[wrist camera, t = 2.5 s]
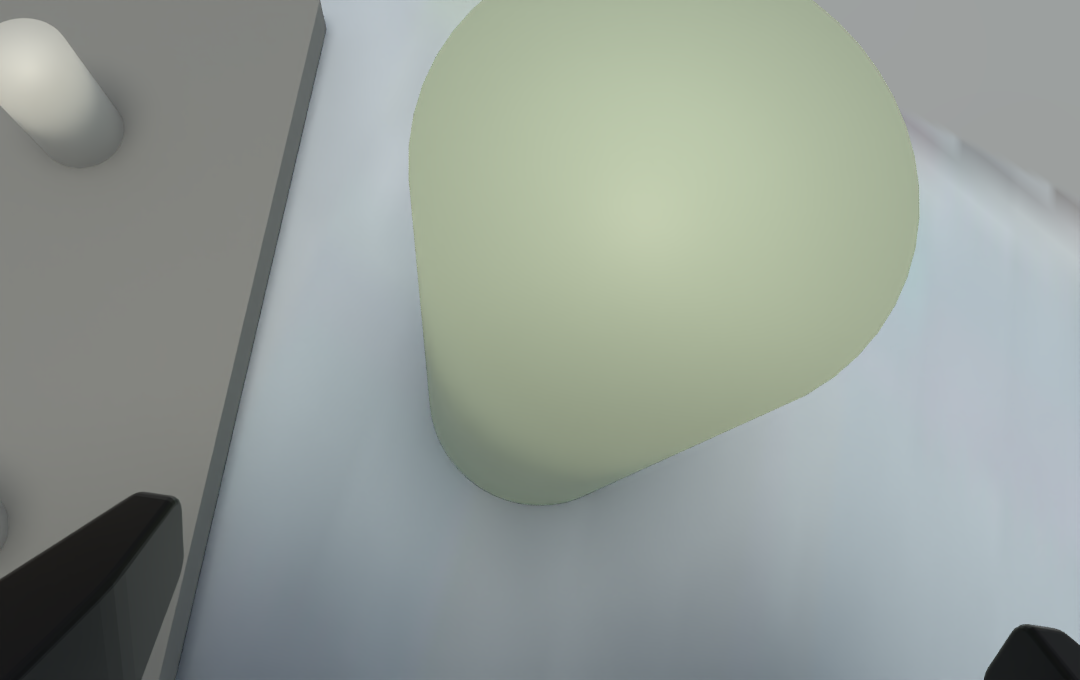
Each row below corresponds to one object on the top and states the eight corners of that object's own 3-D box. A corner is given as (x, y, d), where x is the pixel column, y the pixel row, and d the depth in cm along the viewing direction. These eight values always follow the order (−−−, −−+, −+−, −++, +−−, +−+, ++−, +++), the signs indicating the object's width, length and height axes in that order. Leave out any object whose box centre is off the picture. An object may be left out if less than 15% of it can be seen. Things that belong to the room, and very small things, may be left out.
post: (685, 441, 21) (1016, 280, 9) (492, 546, 20) (567, 524, 8) (582, 257, 22) (754, -121, 10) (392, 347, 21) (318, 49, 9)
